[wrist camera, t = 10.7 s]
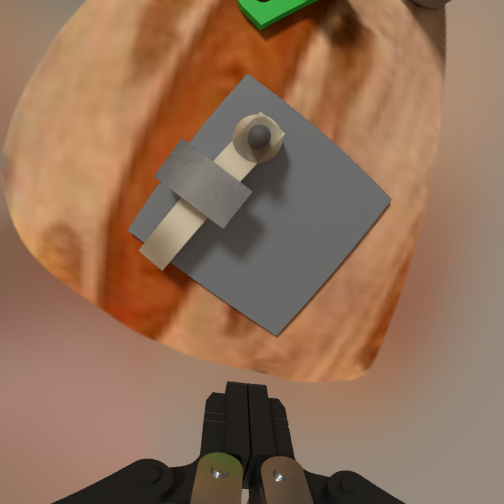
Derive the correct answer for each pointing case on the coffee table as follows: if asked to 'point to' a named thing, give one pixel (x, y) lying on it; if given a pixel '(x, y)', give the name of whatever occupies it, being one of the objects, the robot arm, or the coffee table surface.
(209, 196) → the keeper
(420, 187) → the coffee table surface
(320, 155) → the base plate
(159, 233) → the latch bar
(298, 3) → the mechanical part
